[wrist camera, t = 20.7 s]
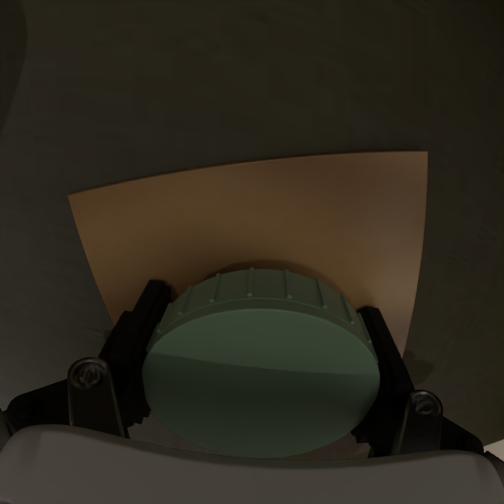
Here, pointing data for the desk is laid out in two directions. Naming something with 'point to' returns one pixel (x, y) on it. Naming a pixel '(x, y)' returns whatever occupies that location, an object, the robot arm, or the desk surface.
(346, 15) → the desk surface
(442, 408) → the robot arm
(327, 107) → the desk surface
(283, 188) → the coaster
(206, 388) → the jam lid
